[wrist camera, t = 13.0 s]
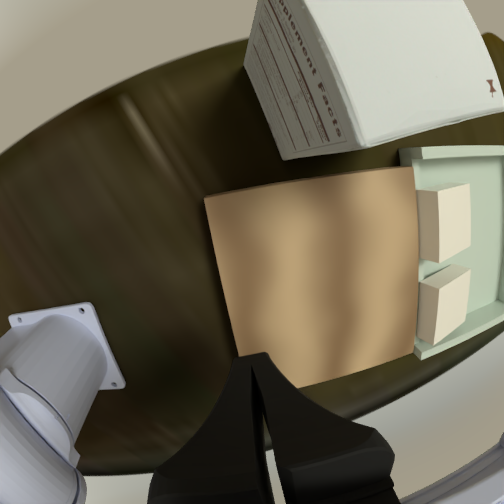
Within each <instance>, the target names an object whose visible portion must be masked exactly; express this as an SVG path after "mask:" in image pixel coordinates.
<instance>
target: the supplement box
mask: <svg viewBox="0 0 504 504" xmlns="http://www.w3.org/2000/svg"><path fill="white" fill-rule="evenodd" d="M244 67H245V69H246V71H247V73H248V76H249V78H250V80H251V83H252V85H253V87H254V90H255V92H256V94H257V97H258V99H259V102H260V104H261V107H262V109H263V112H264V114H265V116H266V119H267V121H268V124H269V127H270V129H271V132H272V134H273V137H274V139H275V142H276V145H277V147H278V150H279V152H280V155H281V157H282V160H290V159H295V158H301V157H309V156H316V155H324V154H333V153H341V152H348V151H354V150H360V149H365V148H370V147H373V146H377V145H380V144H383V143H386V142H389V141H393V140H396V139H399V138H403V137H406V136H410V135H413V134H416V133H420V132H424V131H427V130H431V129H435V128H438V127H442V126H446V125H451V124H455V123H459V122H461V121H464V120H468V119H472V118H476V117H481V116H485V115H490V114H494V113H499V112H504V97H503V93H502V90H501V86H500V83H499V80H498V77H497V74H496V71H495V68H494V66H493V63H492V60H491V58H490V55H489V53H488V51H487V48H486V46H485V44H484V41H483V39H482V37H481V35H480V33H479V31H478V29H477V27H476V24H475V22H474V20H473V18H472V16H471V14H470V12H469V11H468V9H467V7H466V5H465V3H464V1H463V0H258V2H257V7H256V11H255V16H254V20H253V24H252V29H251V33H250V37H249V41H248V46H247V51H246V55H245V60H244Z"/></svg>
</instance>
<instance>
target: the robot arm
mask: <svg viewBox="0 0 504 504" xmlns="http://www.w3.org/2000/svg"><path fill="white" fill-rule="evenodd" d="M81 308H83V309H84V311H85V312H83V311H82V310H81ZM20 318H21V319H20ZM9 322H10V324H11V327H12V328H11V329H10V330H9V331H8V332H7V333H6V334H4V335H3V336H2V337H1V338H0V504H85V500H86V494H87V493H86V492H87V487H86V482H85V479H84V477H83V476H82V474H81V473H80V472H79V471H78V470H77V469H76V466H77V463H78V460H79V458H80V455H79V453H78V452H77V451H76V450H75V448H74V444H75V442H76V439H77V437H78V435H79V432H80V430H81V428H82V425H83V423H84V421H85V419H86V416H87V414H88V412H89V410H90V407H91V405H92V403H93V401H94V399H95V397H96V394H97V392H98V390H105V389H122V388H124V387H125V384H126V382H125V380H124V378H123V376H122V373H121V371H120V369H119V367H118V365H117V363H116V360H115V358H114V356H113V354H112V351H111V349H110V347H109V344H108V342H107V339H106V337H105V335H104V332H103V330H102V327H101V324H100V322H99V319H98V317H97V314H96V311H95V309H94V306H93V305H92V304H91V303H89V302H84V303H78V304H72V305H66V306H60V307H54V308H48V309H42V310H36V311H30V312H24V313H17V314H12V315H10V316H9ZM113 382H114V383H116V384H114V383H113ZM262 412H263V413H262ZM263 415H264V418H265V421H266V424H267V428H268V431H269V434H270V437H271V440H272V445H273V451H274V456H275V462H276V466H277V471H278V475H279V478H280V482H281V486H282V490H283V494H284V497H285V502H286V504H504V433H503V434H502V436H501V438H500V441H499V442H498V443H497V444H496V445H494V446H493V447H492V448H490V449H489V450H487V451H486V452H484V453H483V454H481V455H480V456H478V457H477V458H475V459H474V460H472V461H471V462H469V463H468V464H466V465H464V466H463V467H461V468H459V469H458V470H456V471H454V472H453V473H451V474H449V475H447V476H446V477H444V478H442V479H440V480H438V481H436V482H435V483H433V484H431V485H429V486H427V487H425V488H423V489H421V490H419V491H417V492H415V493H412V494H410V495H408V496H406V497H404V498H402V499H398V497H397V495H396V493H395V491H394V489H393V487H394V483H393V481H392V479H391V477H390V473H391V470H392V467H393V463H394V458H395V454H394V452H393V450H392V448H391V447H390V445H389V444H388V442H387V441H386V440H385V439H384V438H383V437H382V435H381V434H380V433H379V432H378V431H377V430H376V429H375V428H372V427H368V426H365V425H361V424H358V423H355V422H352V421H350V420H347V419H345V418H342V417H340V416H338V415H337V414H335V413H333V412H331V411H329V410H327V409H325V408H323V407H322V406H320V405H319V404H317V403H316V402H314V401H313V400H311V399H310V398H308V397H307V396H306V395H305V394H303V393H302V392H301V391H300V390H299V389H297V388H296V387H295V386H294V385H293V384H292V383H291V382H290V381H289V380H288V379H287V378H286V377H285V376H284V375H283V374H282V373H281V371H280V370H279V369H278V368H277V367H276V365H275V364H274V363H273V361H272V360H271V358H270V356H269V354H268V353H267V352H261V353H256V354H251V355H245V356H240V357H235V358H234V359H233V362H232V366H231V370H230V373H229V376H228V378H227V381H226V383H225V386H224V388H223V391H222V393H221V395H220V397H219V399H218V400H217V402H216V404H215V406H214V408H213V410H212V411H211V413H210V414H209V416H208V417H207V419H206V420H205V422H204V423H203V424H202V426H201V427H200V428H199V430H198V431H197V432H196V433H195V434H194V436H193V437H192V438H191V439H190V440H189V441H188V442H187V443H186V444H185V445H184V446H183V447H182V448H181V449H180V450H179V451H178V452H177V453H176V454H175V455H173V456H172V457H171V458H169V459H168V460H167V461H166V462H164V463H163V464H162V465H160V466H159V467H157V468H156V469H155V470H154V474H153V477H152V480H151V483H150V487H149V494H148V500H147V504H275V501H274V497H273V492H272V487H271V482H270V477H269V472H268V467H267V461H266V452H265V439H264V426H263Z"/></svg>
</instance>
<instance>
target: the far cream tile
mask: <svg viewBox="0 0 504 504" xmlns="http://www.w3.org/2000/svg"><path fill="white" fill-rule="evenodd" d="M470 275H471V269H470V268H466V267H463V266H460V265H456V264H451V265H450V266H448V267H446V268H444V269H443V270H441V271H439V272H437V273H435V274H434V275H432V276H430V277H428V278H426V279H424V280H422V281H421V282H420V289H419V309H418V323H417V334H416V337H418V338H420V339H422V340H424V341H425V342H427V343H429V344H431V345H433V346H434V345H435V344H436V343H438V342H439V341H440V340H442V339H443V338H444V337H446V336H447V335H448V334H450V333H451V332H452V331H453V330H455V329H456V328H457V327H458V326H460V325H461V324H462V323H463V322H465V318H466V312H467V304H468V296H469V286H470Z"/></svg>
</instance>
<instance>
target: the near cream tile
mask: <svg viewBox="0 0 504 504" xmlns="http://www.w3.org/2000/svg"><path fill="white" fill-rule="evenodd" d="M416 200H417V215H418V240H419V258H422V259H425V260H429V261H432V262H436V263H441V262H443V261H445V260H446V259H448V258H450V257H452V256H454V255H455V254H457V253H459V252H461V251H462V250H464V249H466V248H468V247H469V246H471V202H470V183H457V182H448V183H443V184H438V185H434V186H429V187H424V188H420V189H416Z"/></svg>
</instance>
